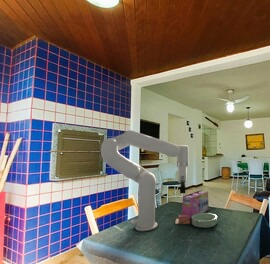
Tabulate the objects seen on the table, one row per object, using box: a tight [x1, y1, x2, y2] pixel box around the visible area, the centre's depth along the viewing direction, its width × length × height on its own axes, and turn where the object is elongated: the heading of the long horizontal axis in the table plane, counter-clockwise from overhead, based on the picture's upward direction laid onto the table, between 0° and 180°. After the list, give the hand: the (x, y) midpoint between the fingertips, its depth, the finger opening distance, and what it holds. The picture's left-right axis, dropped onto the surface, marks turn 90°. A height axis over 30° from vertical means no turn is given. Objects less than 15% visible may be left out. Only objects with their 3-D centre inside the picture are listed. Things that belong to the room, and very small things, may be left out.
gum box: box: [181, 190, 210, 220], centre depth 142 cm, size 24×8×14 cm, turn 148°
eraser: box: [178, 214, 188, 222], centre depth 125 cm, size 6×3×3 cm, turn 95°
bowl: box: [191, 212, 218, 229], centre depth 121 cm, size 15×15×4 cm
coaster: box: [174, 218, 191, 225], centre depth 125 cm, size 9×9×1 cm
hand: (182, 191), depth 126 cm, fingers open, 9 cm apart
